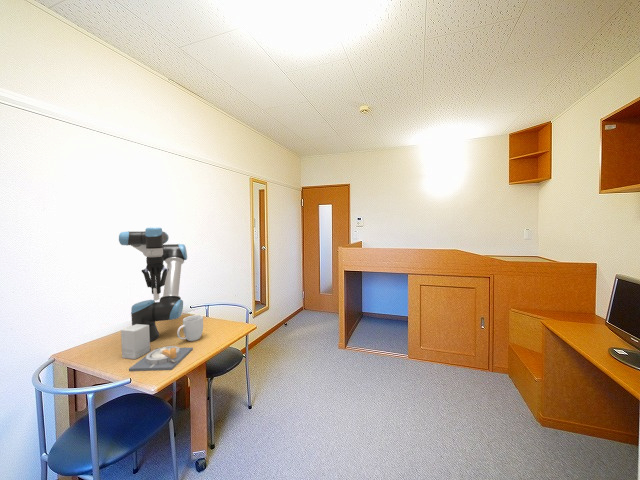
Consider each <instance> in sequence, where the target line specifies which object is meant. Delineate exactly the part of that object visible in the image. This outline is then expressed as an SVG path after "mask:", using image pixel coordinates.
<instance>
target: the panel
mask: <svg viewBox="0 0 640 480" xmlns="http://www.w3.org/2000/svg"><path fill="white" fill-rule="evenodd" d="M161 348H176V358H173V359H171V358H170V357H168V356H167V357H163V358H152V357H151V355H152V354H153V353H154V352H156V351H158V350H160V349H161ZM192 351H194V349H193V346H192V347H191V346H190V347H179V346H175V345H168V346H163V347H160V348H158V347H157V348H155V349H153V350H152V351H151V350H150V352H148V353H146V354H145V355H146V356H144V357H142V358H141V359H140V360H139V361H137V362H135V363H134V364H132V366H130V367H129V368H128V372H140V371H142V372H145V371H172V370H173V369H174V368H175V367H176V366H177V365H179V364H180V362H182V361H183V360H184V359H185V358H186V356H188V355H189V354H190V353H191V352H192Z"/></svg>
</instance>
